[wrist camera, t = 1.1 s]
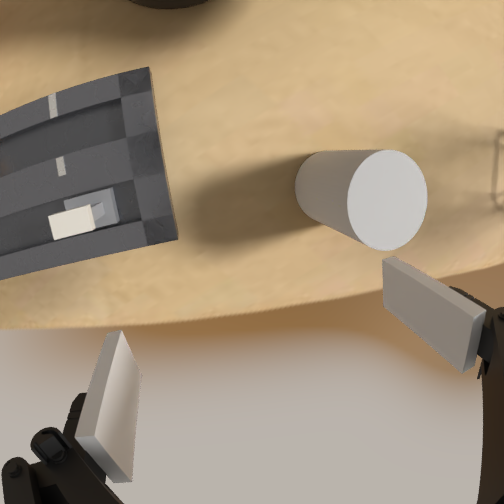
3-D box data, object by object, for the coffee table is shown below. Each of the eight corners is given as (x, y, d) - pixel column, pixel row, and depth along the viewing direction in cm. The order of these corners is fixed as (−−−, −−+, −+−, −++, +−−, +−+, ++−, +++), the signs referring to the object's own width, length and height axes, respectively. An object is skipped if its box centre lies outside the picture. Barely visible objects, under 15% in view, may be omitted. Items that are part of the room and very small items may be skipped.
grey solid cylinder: (319, 236, 37) (376, 270, 25) (280, 178, 34) (328, 188, 23) (371, 195, 37) (439, 212, 25) (336, 136, 34) (401, 131, 23)
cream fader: (68, 198, 29) (39, 209, 22) (112, 187, 29) (92, 194, 22) (75, 231, 30) (49, 250, 23) (119, 220, 30) (102, 237, 23)
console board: (-71, 161, 23) (-84, 162, 21) (151, 74, 28) (148, 66, 25) (-44, 286, 28) (-55, 294, 26) (178, 233, 33) (177, 239, 30)
